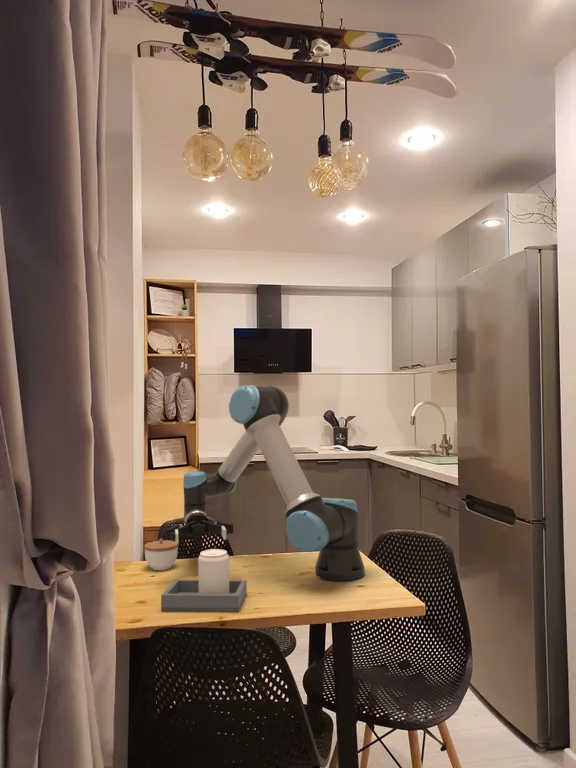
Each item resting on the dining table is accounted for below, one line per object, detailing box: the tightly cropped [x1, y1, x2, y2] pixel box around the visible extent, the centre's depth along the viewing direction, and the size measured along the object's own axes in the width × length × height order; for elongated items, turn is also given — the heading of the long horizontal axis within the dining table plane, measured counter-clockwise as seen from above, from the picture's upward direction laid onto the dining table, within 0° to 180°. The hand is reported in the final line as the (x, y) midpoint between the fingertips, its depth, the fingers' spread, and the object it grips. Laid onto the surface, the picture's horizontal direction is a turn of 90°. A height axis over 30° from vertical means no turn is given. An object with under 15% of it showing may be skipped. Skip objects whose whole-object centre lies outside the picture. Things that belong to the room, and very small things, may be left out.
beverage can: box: [197, 548, 230, 594], centre depth 146 cm, size 8×8×12 cm
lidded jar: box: [143, 538, 179, 571], centre depth 179 cm, size 11×11×9 cm
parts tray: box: [160, 579, 248, 613], centre depth 145 cm, size 20×13×4 cm, turn 86°
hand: (201, 536), depth 157 cm, fingers open, 13 cm apart
